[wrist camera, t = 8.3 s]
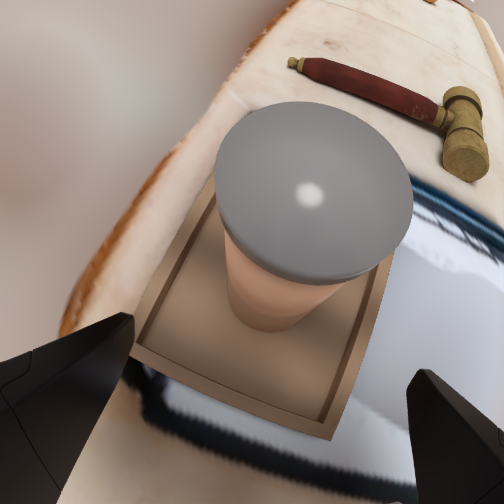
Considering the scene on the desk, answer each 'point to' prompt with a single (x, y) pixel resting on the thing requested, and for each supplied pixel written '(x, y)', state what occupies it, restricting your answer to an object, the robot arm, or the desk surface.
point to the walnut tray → (252, 333)
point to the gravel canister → (305, 208)
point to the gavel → (417, 111)
